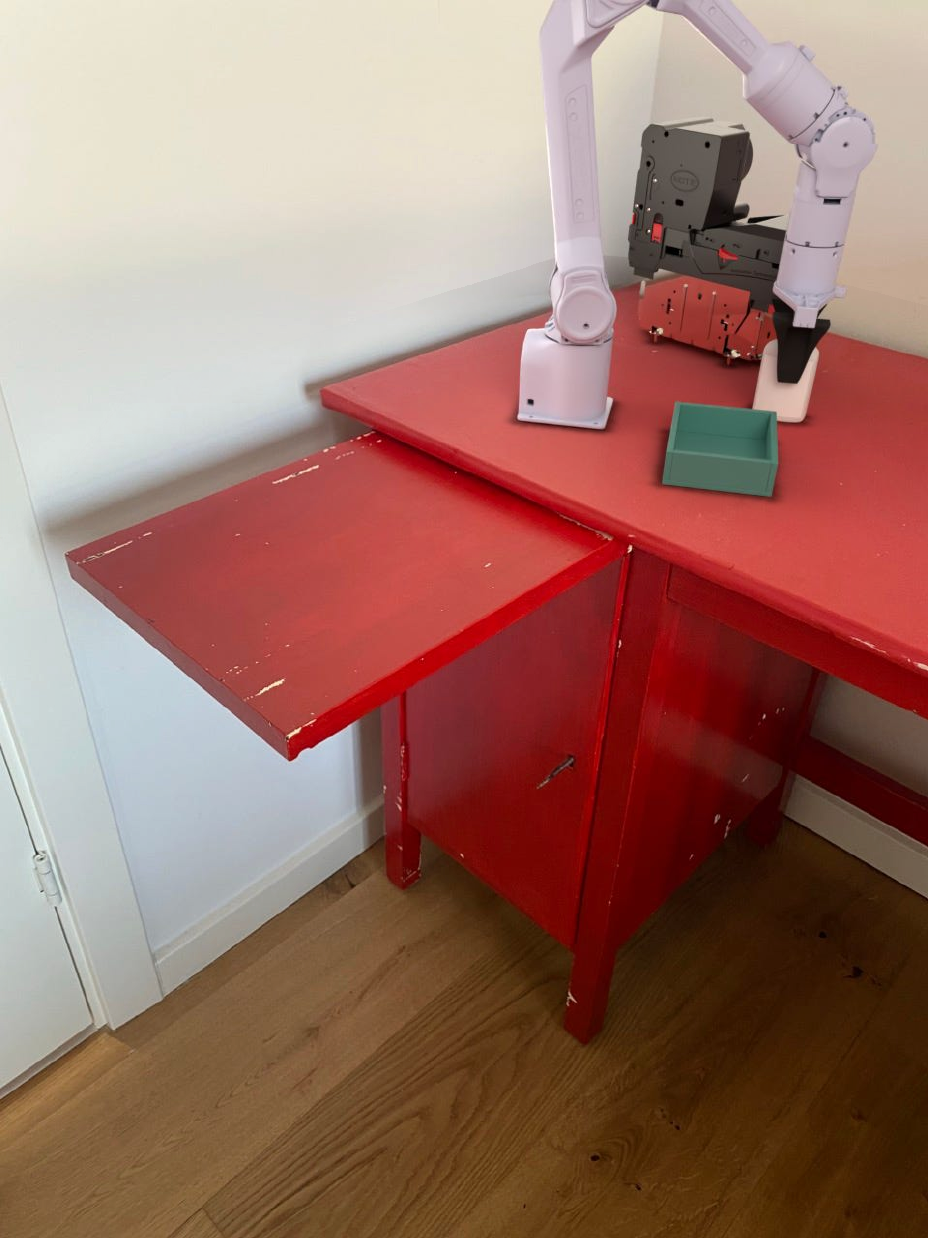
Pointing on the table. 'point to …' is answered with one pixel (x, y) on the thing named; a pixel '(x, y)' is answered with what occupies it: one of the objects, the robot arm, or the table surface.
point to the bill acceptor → (703, 240)
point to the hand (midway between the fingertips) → (787, 372)
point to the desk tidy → (722, 449)
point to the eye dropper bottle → (783, 387)
